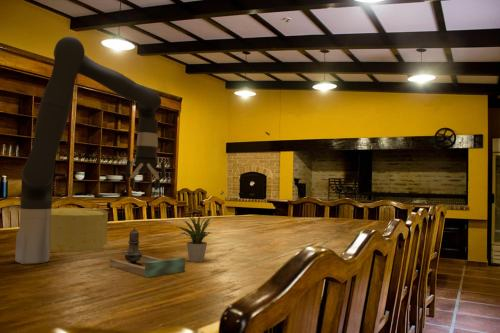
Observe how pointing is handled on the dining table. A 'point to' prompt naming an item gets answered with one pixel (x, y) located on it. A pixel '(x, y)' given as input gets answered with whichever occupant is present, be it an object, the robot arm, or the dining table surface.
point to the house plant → (196, 240)
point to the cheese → (78, 229)
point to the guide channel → (151, 266)
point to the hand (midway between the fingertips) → (144, 189)
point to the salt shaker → (133, 249)
